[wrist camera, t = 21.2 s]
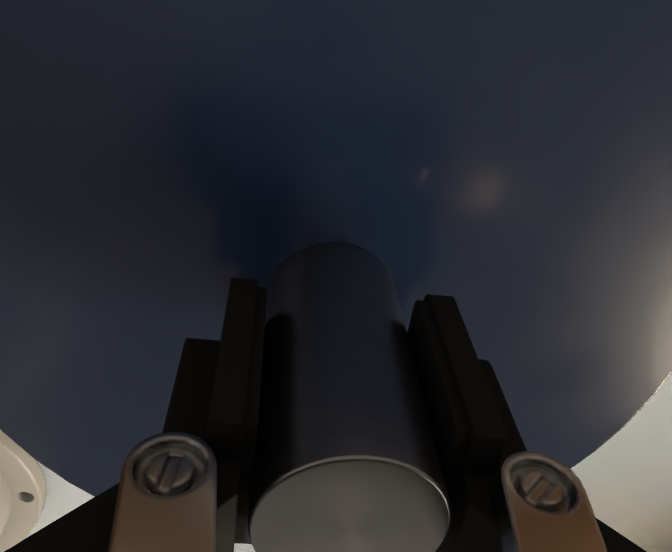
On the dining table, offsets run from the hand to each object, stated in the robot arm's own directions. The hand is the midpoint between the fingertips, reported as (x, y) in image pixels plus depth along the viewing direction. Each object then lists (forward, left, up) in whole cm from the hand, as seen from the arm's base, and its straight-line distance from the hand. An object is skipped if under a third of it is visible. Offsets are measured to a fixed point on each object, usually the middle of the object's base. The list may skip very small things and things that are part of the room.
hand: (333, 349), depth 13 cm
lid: (0, 0, -2) cm, 2 cm away
